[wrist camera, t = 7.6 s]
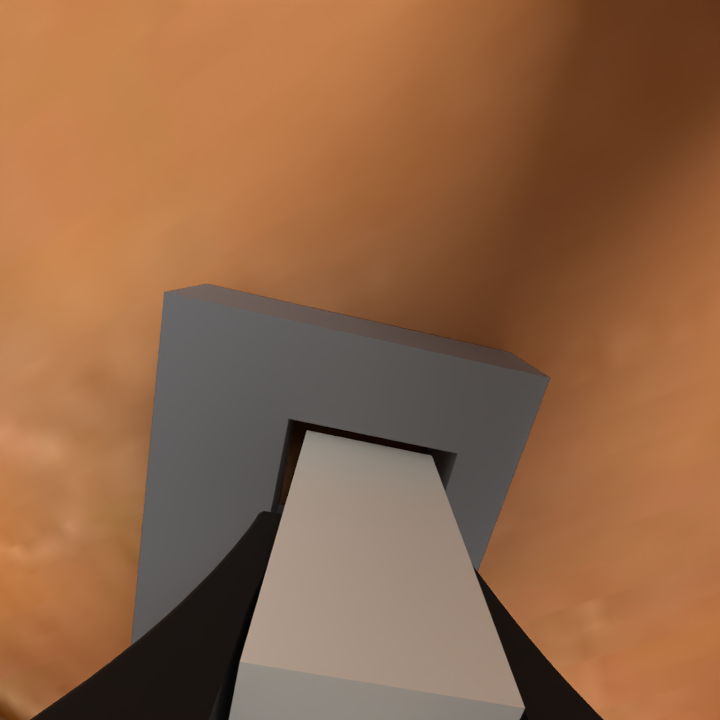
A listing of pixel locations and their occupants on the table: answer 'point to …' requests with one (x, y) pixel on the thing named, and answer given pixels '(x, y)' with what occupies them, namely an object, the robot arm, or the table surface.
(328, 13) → the table surface
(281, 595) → the square peg
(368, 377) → the socket board
